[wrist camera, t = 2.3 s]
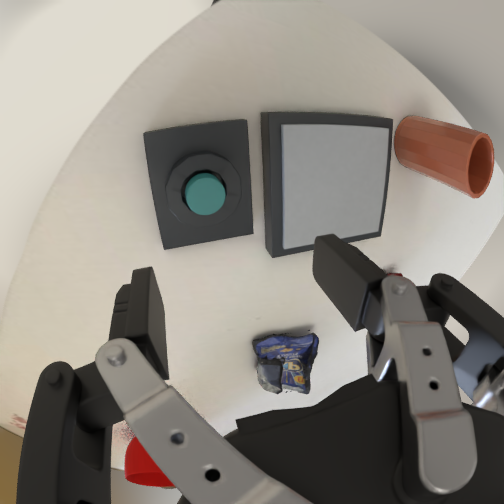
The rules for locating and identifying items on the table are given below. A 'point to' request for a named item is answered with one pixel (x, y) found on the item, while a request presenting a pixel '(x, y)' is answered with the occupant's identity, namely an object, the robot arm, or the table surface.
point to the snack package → (285, 362)
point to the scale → (323, 177)
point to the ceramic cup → (143, 467)
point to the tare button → (205, 194)
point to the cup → (446, 153)
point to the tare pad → (196, 162)
